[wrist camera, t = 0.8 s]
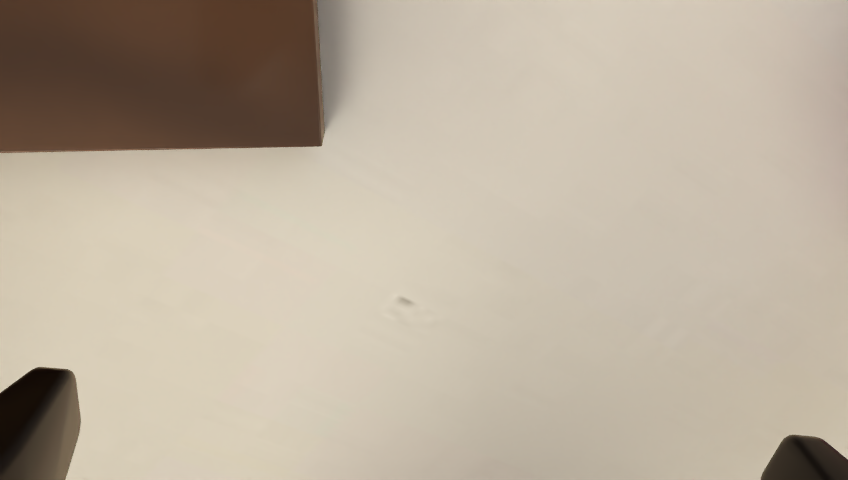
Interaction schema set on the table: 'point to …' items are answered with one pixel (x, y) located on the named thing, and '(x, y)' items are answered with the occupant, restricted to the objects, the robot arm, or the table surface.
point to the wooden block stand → (159, 75)
